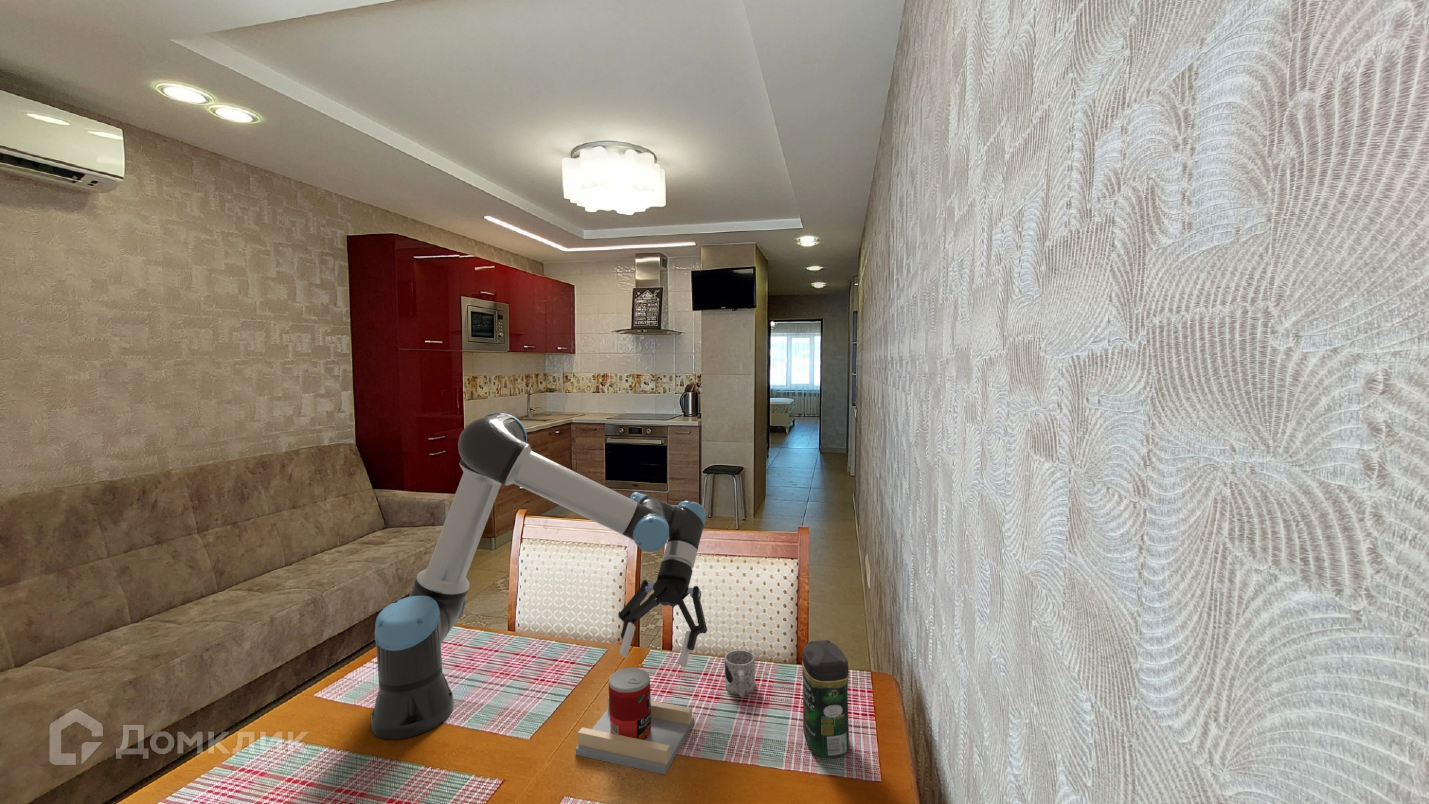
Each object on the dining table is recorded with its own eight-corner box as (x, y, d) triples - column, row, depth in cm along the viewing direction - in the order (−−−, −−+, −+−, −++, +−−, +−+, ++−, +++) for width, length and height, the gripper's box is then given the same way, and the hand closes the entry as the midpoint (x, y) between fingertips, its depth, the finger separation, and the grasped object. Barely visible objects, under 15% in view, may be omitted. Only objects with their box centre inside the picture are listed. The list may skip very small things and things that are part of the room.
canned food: (646, 747, 105) (644, 690, 105) (604, 744, 107) (602, 688, 106) (655, 721, 113) (654, 668, 112) (617, 718, 114) (615, 666, 113)
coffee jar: (798, 728, 112) (797, 637, 111) (837, 724, 113) (836, 634, 111) (812, 762, 102) (811, 663, 101) (854, 758, 103) (854, 660, 102)
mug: (724, 678, 130) (723, 650, 130) (753, 677, 130) (752, 649, 130) (726, 704, 120) (726, 674, 120) (758, 703, 120) (757, 673, 120)
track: (575, 754, 106) (575, 735, 105) (614, 707, 120) (613, 690, 120) (664, 774, 100) (664, 754, 100) (694, 722, 114) (693, 705, 114)
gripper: (732, 577, 130) (712, 675, 117) (634, 567, 138) (605, 657, 125) (725, 563, 125) (703, 663, 112) (623, 552, 133) (592, 645, 120)
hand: (651, 660), depth 118 cm, fingers open, 13 cm apart
